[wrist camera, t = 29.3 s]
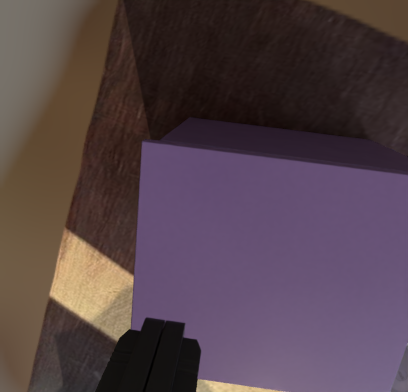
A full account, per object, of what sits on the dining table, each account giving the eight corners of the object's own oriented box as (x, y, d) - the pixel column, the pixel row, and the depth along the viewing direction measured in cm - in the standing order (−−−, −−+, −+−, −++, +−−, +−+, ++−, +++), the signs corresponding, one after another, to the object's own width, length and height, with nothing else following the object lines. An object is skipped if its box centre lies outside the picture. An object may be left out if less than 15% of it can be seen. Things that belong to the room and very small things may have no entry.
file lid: (131, 360, 26) (128, 369, 26) (144, 138, 21) (141, 140, 20) (380, 397, 26) (385, 406, 25) (457, 178, 21) (466, 181, 20)
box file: (174, 265, 40) (143, 358, 27) (189, 117, 35) (159, 139, 22) (331, 288, 39) (380, 396, 26) (369, 139, 34) (457, 177, 21)
